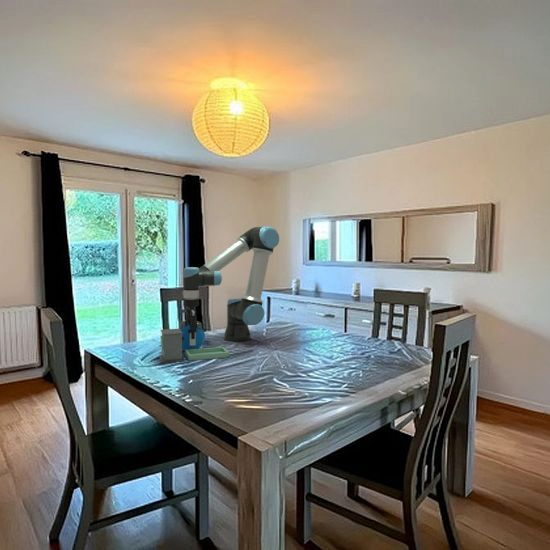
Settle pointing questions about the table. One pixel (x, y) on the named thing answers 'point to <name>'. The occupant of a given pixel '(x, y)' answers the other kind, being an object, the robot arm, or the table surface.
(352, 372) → the table surface
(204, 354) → the green tray
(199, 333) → the alarm clock
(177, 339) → the box
